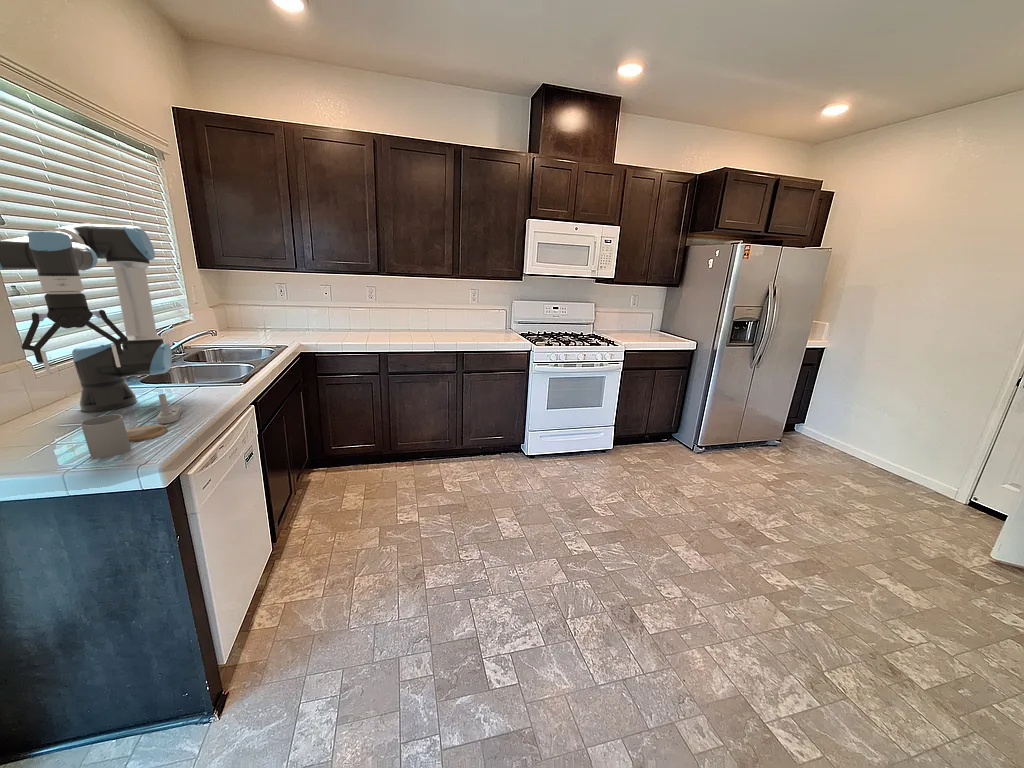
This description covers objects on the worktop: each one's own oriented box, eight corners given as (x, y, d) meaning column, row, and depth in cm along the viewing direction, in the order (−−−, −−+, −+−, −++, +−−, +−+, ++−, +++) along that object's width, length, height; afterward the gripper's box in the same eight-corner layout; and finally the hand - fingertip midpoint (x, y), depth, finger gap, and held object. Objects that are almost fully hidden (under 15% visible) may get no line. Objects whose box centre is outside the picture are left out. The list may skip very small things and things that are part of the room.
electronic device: (177, 385, 148) (170, 395, 136) (183, 410, 151) (177, 423, 138) (158, 387, 146) (149, 398, 133) (165, 413, 148) (156, 426, 136)
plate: (114, 434, 129) (113, 431, 128) (163, 423, 137) (162, 421, 137) (119, 445, 121) (119, 442, 121) (171, 434, 130) (170, 431, 129)
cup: (135, 443, 123) (126, 412, 120) (126, 455, 116) (117, 422, 113) (97, 449, 119) (87, 417, 116) (85, 461, 112) (75, 427, 109)
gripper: (-12, 295, 98) (16, 380, 103) (128, 292, 115) (145, 365, 121) (-9, 293, 103) (17, 375, 108) (125, 291, 120) (142, 361, 126)
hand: (85, 370), depth 115 cm, fingers open, 13 cm apart
